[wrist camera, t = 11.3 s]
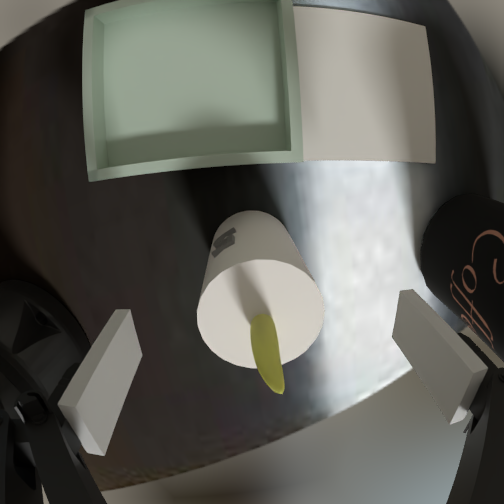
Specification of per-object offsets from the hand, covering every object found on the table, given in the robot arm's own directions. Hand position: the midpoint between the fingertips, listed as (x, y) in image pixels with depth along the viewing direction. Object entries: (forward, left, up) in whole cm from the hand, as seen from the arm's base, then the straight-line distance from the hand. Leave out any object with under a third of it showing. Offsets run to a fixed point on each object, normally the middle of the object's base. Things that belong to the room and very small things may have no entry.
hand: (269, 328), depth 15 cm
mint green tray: (-4, +13, -11) cm, 18 cm away
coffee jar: (+20, -1, -12) cm, 23 cm away
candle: (0, 0, -12) cm, 12 cm away
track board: (+3, +13, -11) cm, 17 cm away
